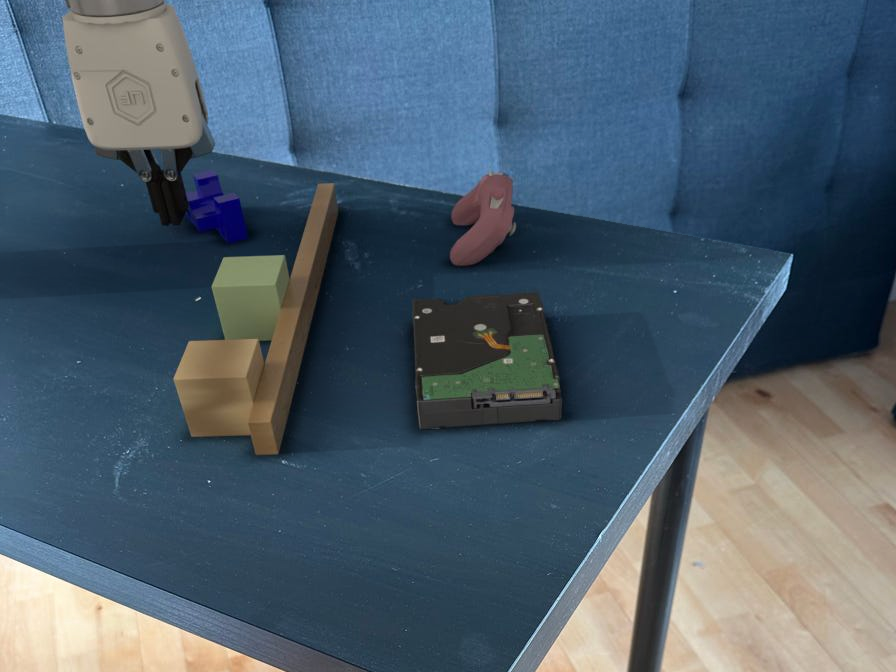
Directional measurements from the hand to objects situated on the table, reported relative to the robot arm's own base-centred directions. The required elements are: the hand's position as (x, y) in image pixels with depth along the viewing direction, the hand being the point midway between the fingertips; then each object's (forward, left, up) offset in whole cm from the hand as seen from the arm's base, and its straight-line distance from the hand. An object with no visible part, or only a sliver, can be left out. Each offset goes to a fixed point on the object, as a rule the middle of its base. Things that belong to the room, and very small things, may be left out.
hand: (174, 219), depth 89 cm
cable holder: (+4, 0, -2) cm, 4 cm away
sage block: (+11, -19, -1) cm, 22 cm away
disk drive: (+30, -27, -2) cm, 40 cm away
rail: (+15, -17, -1) cm, 22 cm away
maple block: (+11, -32, -1) cm, 34 cm away
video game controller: (+30, -5, -2) cm, 30 cm away
